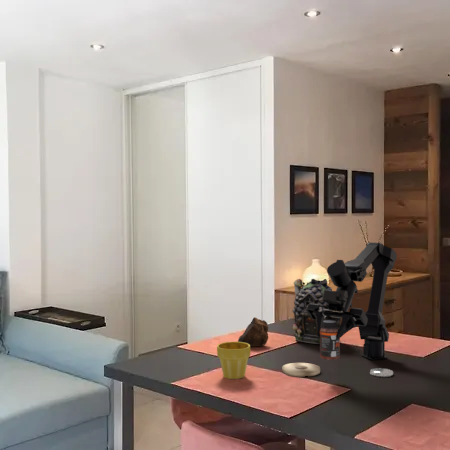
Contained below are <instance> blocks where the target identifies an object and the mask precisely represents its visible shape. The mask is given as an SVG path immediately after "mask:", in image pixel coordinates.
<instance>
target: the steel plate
mask: <svg viewBox="0 0 450 450" xmlns="http://www.w3.org/2000/svg"><path fill="white" fill-rule="evenodd" d="M369 374H370V375H372V376H374V377H380V378H389V377H390V378H391V377H392V376H394V371H393V370H391V369H389V368H382V367H379V368H378V367H377V368H371V369H370V370H369Z"/></svg>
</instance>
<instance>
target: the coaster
mask: <svg viewBox="0 0 450 450" xmlns="http://www.w3.org/2000/svg"><path fill="white" fill-rule="evenodd" d="M281 368H282V369H281V370H282V371H281V372H282V373H283V374H285V375H287V376H291V377H300V378H301V377H303V378H306V377H305V376H308V377H315V376H317V375H319V374H321V367H320V366H319V365H316V364H314V363H307V362H292V363H286V364H284V365H282V367H281Z"/></svg>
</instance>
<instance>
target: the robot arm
mask: <svg viewBox="0 0 450 450" xmlns="http://www.w3.org/2000/svg"><path fill="white" fill-rule="evenodd" d="M396 261H397V252H396V251H395V250H394V249H393V248H391V247H389V246H387V245H384V244H383V243H381V242H376V241H375V242H374V241H373V242H368V243H366V245H365V248H364V249H363V250H362V251H361V252H360V253H359V254H358V255H357V256H356V257H355V258H353V259H351V260H348V261H346V262H345V261H344V260H343V259H337V260H336V262H333V263H331V264H330V265H329V266H328V267H327V268H326V272H327V274H328V276H329V278H330V280H331V282H332V284H333V285H334V286H335V287H336V288H335V290H332V291H329V290H324V293H323V298H322V301H325V302H326V306H327V307H329V309H323V308H322V307H321V305H320V304H312V303H310V304H308V306H307V308H306V311H307V312H308V314H309V316H310V317H311V319H313V320H317V335H318V337H320V329H321V328H322V327H323V321H325V320H326V319H325V317H326V316H331V317H337V318H341V322H340V327H339V330H338V332H337V335H336V338H337V339H339V338H340V339H341V338H342V337H343V336H344V335H346V334H347V333H348V332H349V331H351V330H352V329H353V328H357V327H358V332H359V337H360V340H363V341H364V343H363V345H362V346H363V347H362V349H363V354H361V356H362V357H364V358H365V359H366V358H367V359H369V360H371V361H375V360H383V359H384V360H385V359H388V356H386V355H385V353H386V352H385V351H386V349H385V347H386V345H385V342H387V343H388V342H389V339H390V332H389V331H388V329H387V326H386V320H385V317H384V316H383V309H384V308H383V307H384V301H385V294H386V289H387V281H388V275H389V273H390V272H391V271H392V270H393V269H394V267H395V264H396V263H395V262H396ZM370 265H371V266H372V268H373V277H372V282H371V289H370V295H369V300H368V308H367V310H366V311H364V309H363V308H358V307H353V303H352V301H353V299H354V296H355V294H358V293H359V289H358V286H357V284H356V282H357V283H359V282H360V283H362V282H363V281H364V280H365V278H366V276H367V274H368V273H367V269H368V268H369V266H370Z"/></svg>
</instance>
